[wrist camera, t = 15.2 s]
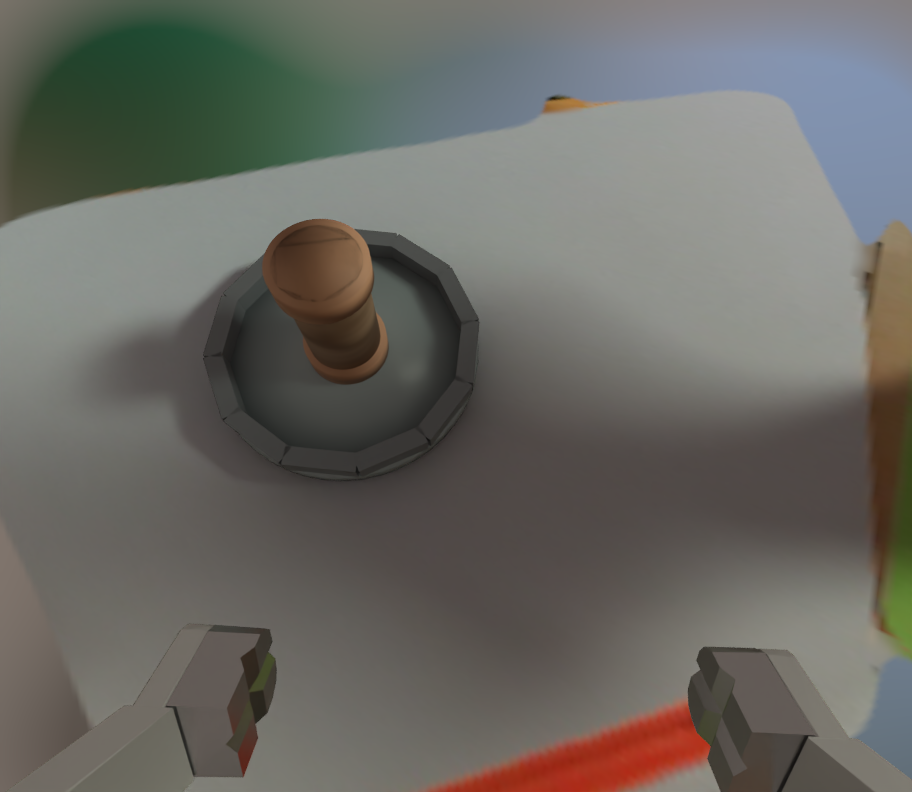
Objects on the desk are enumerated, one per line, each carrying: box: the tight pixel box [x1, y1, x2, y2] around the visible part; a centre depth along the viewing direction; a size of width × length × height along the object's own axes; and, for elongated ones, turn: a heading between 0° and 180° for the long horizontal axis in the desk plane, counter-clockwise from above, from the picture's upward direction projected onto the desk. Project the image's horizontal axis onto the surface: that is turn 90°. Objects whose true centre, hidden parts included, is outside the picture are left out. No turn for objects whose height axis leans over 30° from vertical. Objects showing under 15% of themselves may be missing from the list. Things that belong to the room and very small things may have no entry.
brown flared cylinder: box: [262, 219, 389, 385], centre depth 31 cm, size 6×6×10 cm
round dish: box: [203, 229, 479, 481], centre depth 36 cm, size 18×18×2 cm
